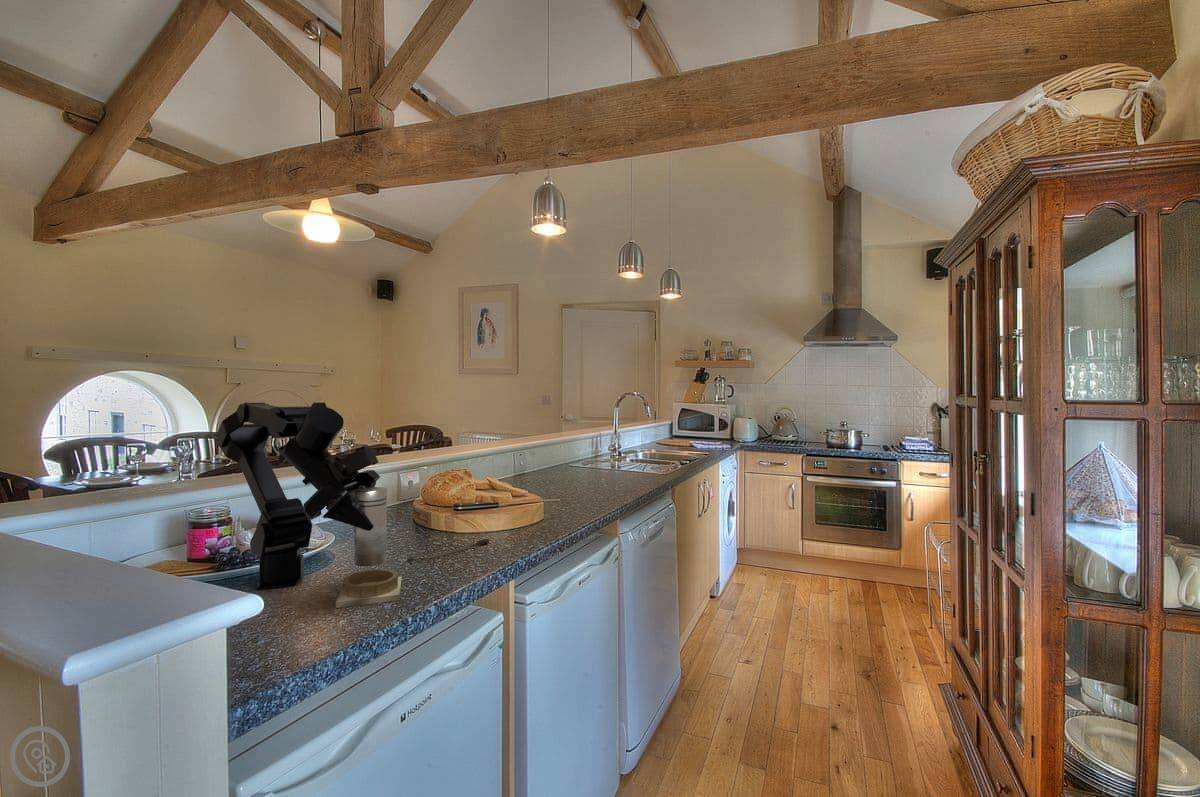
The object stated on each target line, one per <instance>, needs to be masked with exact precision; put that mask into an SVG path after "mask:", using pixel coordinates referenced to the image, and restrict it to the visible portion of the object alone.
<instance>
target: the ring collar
mask: <svg viewBox="0 0 1200 797" xmlns="http://www.w3.org/2000/svg"><path fill="white" fill-rule="evenodd" d="M402 581H403V580H402V575H401V576H400V575H399V573H398V572H397V571H396V570H394V569H389V568H387V569H385V568H375V569H366V570H361V571H358V572H357V571H356V572H353V573H351V574H349V575H348V576H345V577H344V578H343V580H342V582H341V583H342V585H341V586H342V587H341V589H340V592H339V594H338V596H337V598H336V601H335V608H336V609H339V608H348V607H355V606H356V607H357V606H362V605H363V606H365V605H372V604H381V603H387V602H388V603H390V601H391V602H397V601H398V600H399V601H400V599H401V590H402V589H401V588H402Z"/></svg>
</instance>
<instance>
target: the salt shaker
mask: <svg viewBox="0 0 1200 797" xmlns="http://www.w3.org/2000/svg"><path fill="white" fill-rule="evenodd" d="M387 490H388V488H387V487H384V486H383V487H380V486H375V487H368V488H360V489H356V490H355V502H356V504H357V505H358V506H359V507H360V509H361V510H362V511H363V512H364V514H365V515H366V516H367V517H368V519H369V520H370V521H371V523H372V524H373V526H374V527H373V528H372V529H371V530H370V531H367V530H364V529H361V528H358V527H355V526H353V565H354V566H357V567H372V566H378V565H381V564H384V563H386V561H387V522H388V521H387V512H388V511H387V509H388V507H387V505H388V504H387V503H388V502H387V501H388V498H387V496H388V492H387Z"/></svg>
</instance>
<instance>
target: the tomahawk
mask: <svg viewBox="0 0 1200 797" xmlns="http://www.w3.org/2000/svg"><path fill="white" fill-rule="evenodd" d="M489 542H490V539H488V538H485V539H480V540H478V541H477V542H476V543H475V544H470V545H463V546H461V547H457V548H454V549H450V550H446V551H442V552H438V553H434V554H431V555H428V556H423V557H421V558H420V560H425V559H430V558H435V557H438V558H440V557H439V556H442V557H444V556H443V555H446V556H448V555H447V554H449V555H452V554H451V553H453V554H456V552H457V553H460V552H463V551H464V552H465V551H467V550H471V549H474V548H479V547H481V546H482V545H484V544H487V543H489ZM435 559H436V558H435ZM414 560H415V561H416V560H417V559H415V558H410V557H409V558H407V559H406V563H407V562H411V561H414ZM411 563H412V562H411Z"/></svg>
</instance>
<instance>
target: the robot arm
mask: <svg viewBox="0 0 1200 797" xmlns="http://www.w3.org/2000/svg"><path fill="white" fill-rule="evenodd" d="M344 424H345V421H344V418H343V416H342V415H341V414H340V412H337V411H336V410H335V409H333V408H330V407H328V406H327V404H326V402H321V401H320V402H312V404H311V405H310V406H308V405H306V406H277V405H271V404H269V403H266V402H243V403H240V404H239V405H238V406H237V409H236V410H235V411H234V412H233V413H232V414H230V415H229V416H227V417H225V418H224V419H223V420H222V421H221V423H220V426H219V428H218V430H217V432H216V437H215V438H216V445H217V447H218V448H220V451H221V452H222V453H223V455H224V456H225V458H227V459H229V460H231V461H233V462H235V463H237V464H238V465H239V467H240V470H241V472H242V474H243V477H244V478H245V481H246V483H247V485H248V487H249V490H250V492H251V494H252V496H253V498H254V501H255V503H256V506H257V508H258V510H259V511H260V512H259V513H260V516H259V519H258V522H257V523H256V527H255V531H254V533H253V535H252V536H251V539H250V542H249V549H250V553H251V554H252V555H253V556H256V557H259V566H258V568H259V569H258V570H259V574H258V575H259V577H258V578H259V583H258V584H257V585H256V590H264V589H274V588H282V587H283V588H284V587H292V586H296V585H297V584H298V583H299V581H300V580H301V579H302V578H303V576H304V574H305V573H304V572H305V571H304V569H305V568H304V566H305V564H304V562H305V560H304V559H305V558H304V554H303V553H302V554H301V549H303V548H304V549H305V548H309V544H310V541H311V535H312V530H313V523H312V520H315V519H316V518H318V517H320V516H321V515H323V516H322V518H323V519H329V520H333V521H336V522H340V523H343V524H346V525H350V526H352V527H354V526H355V527H358V528H361V529H364V530H367V531H370V530H371V529H372V528H373V527H374V526H373V524H372V523H371V521H370V520H369V519H368V517H367V516H366V515H365V514H364V512H363V511H362V510H361V509H360V507H359V506H358V505H357V504H356V502H355V490H356V489H360V488H368V487H376V486H377V481H378V480H379V479H381V475H379V473H377V472H376V470H373V469H367V470H363V469H365V468H367V467H369V466H374V465H376V464H379V459H378V458H377V456H378V451H377V450H375V449H374V447H373V446H369V445H367V444H365V445H362V446H361V447H357V448H356V449H355V452H353V453H351V454H349V455H347V456H345V457H343V456H342V455H339V454H337V455H333V454H332V453H330V451H329V450H328V448H329V447H330V446H331V445H332V443H333V442H334V441H335V439H336V437H337V436H338V435H339V433H340V432H341V430H342V429H343V427H344ZM271 435H272V436H273V437H274V438H275V439H288V438H289V440H288V441H287V442H286V444H284V445H282V446H280V447H279V448H278V449H277V450H278V456H277V459H278V462H279V464H283V463H284V462H285V463H286V462H287V461H288V462H289V463H290V465H291V466H292V467H294V469H295V470H297V471H298V472H299V473H300V475H302V476H303V479H302V480H301V483H303V484H304V485H305V486H308V485H312V486H313V487H314V488H315V489H316V491H315V492H314V493H313V494H312V495H311V496H310V497H309V498H308V499H307V500H306V501H305V502H304V503H302V501H301V499H299V497H295V498H287V496H286V494H285V492H284V490H283V488H282V486H281V484H280V482H279V480H278V477H277V476H276V473H275V472H274V471H275V470H273V468H272V464H271V463H270V461H269V459H268V457H267V455H266V452H265V450H266V449H265V448H266V446H267V442H268V439H270V438H269V437H270V436H271ZM360 470H363V471H360ZM324 509H325V510H327V511H326V512H325V514H322V511H323V510H324Z"/></svg>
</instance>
